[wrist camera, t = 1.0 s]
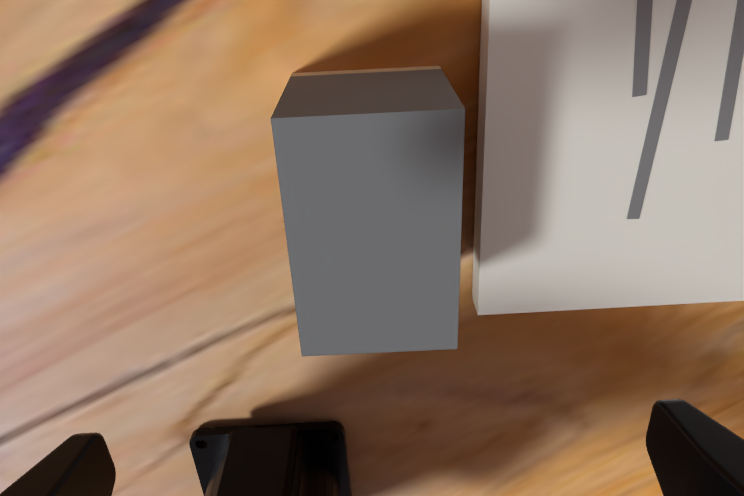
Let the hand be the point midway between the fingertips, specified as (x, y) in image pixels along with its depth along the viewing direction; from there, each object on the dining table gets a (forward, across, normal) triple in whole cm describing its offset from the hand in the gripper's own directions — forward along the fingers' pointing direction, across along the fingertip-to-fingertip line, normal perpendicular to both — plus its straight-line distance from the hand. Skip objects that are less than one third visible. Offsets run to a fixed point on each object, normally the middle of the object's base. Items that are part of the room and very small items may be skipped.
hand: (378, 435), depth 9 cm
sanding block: (+11, 0, 0) cm, 11 cm away
